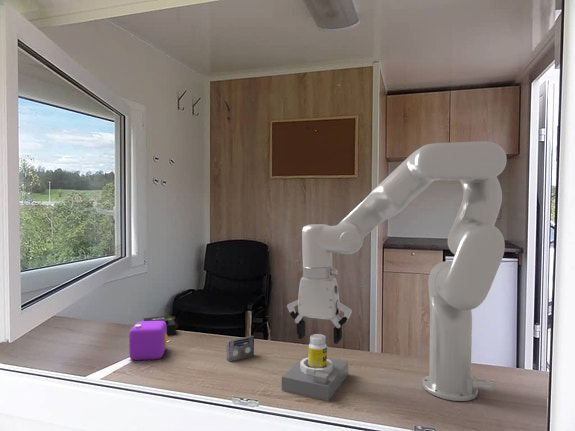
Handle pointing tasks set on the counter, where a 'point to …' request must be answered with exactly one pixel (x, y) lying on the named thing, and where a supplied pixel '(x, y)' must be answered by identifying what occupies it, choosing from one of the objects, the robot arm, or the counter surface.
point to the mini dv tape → (240, 348)
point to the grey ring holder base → (315, 378)
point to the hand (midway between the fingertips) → (319, 339)
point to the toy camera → (148, 340)
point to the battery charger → (169, 322)
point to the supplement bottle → (317, 351)
